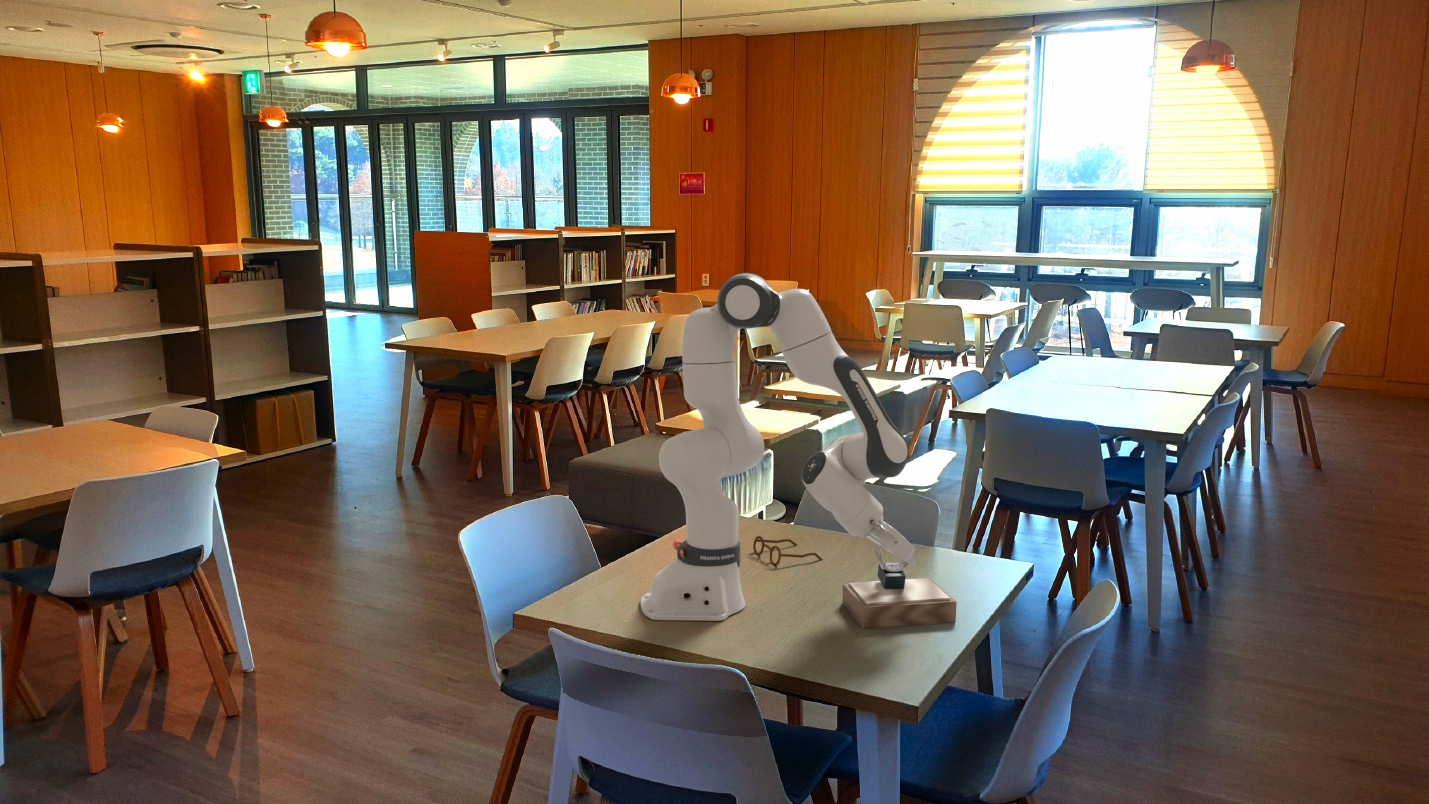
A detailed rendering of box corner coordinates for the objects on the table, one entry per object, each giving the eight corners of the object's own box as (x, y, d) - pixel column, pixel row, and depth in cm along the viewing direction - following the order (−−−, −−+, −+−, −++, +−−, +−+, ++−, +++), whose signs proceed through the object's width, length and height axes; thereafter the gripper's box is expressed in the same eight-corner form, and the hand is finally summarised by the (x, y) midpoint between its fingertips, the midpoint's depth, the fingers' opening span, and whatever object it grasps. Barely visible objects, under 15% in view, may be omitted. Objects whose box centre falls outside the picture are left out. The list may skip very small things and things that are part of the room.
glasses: (751, 553, 255) (752, 534, 254) (797, 546, 260) (797, 527, 260) (777, 569, 243) (777, 549, 242) (824, 561, 249) (824, 542, 248)
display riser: (863, 628, 207) (863, 605, 206) (842, 603, 220) (842, 581, 219) (955, 622, 210) (956, 599, 209) (929, 597, 224) (930, 576, 223)
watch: (913, 588, 215) (919, 542, 211) (876, 589, 214) (881, 543, 210) (905, 574, 221) (911, 529, 217) (869, 575, 220) (874, 530, 216)
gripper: (895, 517, 199) (937, 560, 204) (850, 491, 218) (890, 531, 223) (873, 541, 199) (916, 583, 203) (831, 512, 218) (871, 552, 222)
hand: (902, 556), depth 213 cm, fingers open, 8 cm apart
